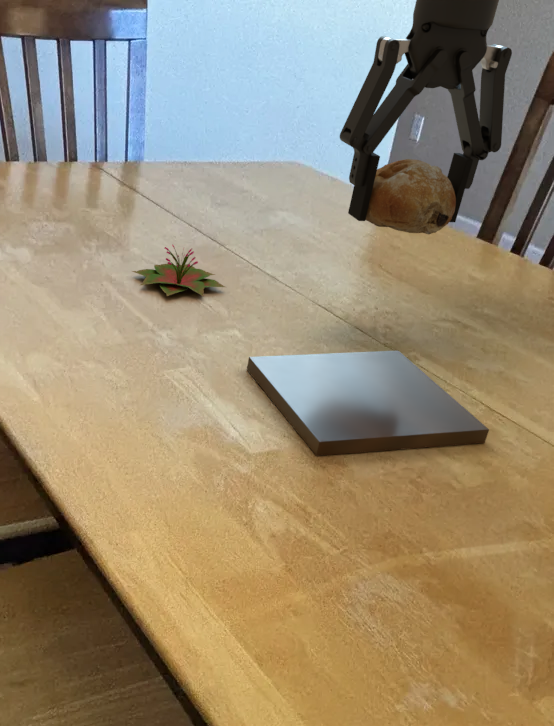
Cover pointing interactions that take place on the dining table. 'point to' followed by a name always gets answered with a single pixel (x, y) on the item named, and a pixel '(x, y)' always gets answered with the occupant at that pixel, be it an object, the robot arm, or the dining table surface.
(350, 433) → the cutting board
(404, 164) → the bread roll
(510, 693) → the dining table surface
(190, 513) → the dining table surface
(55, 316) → the dining table surface
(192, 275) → the lily flower
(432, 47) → the robot arm
